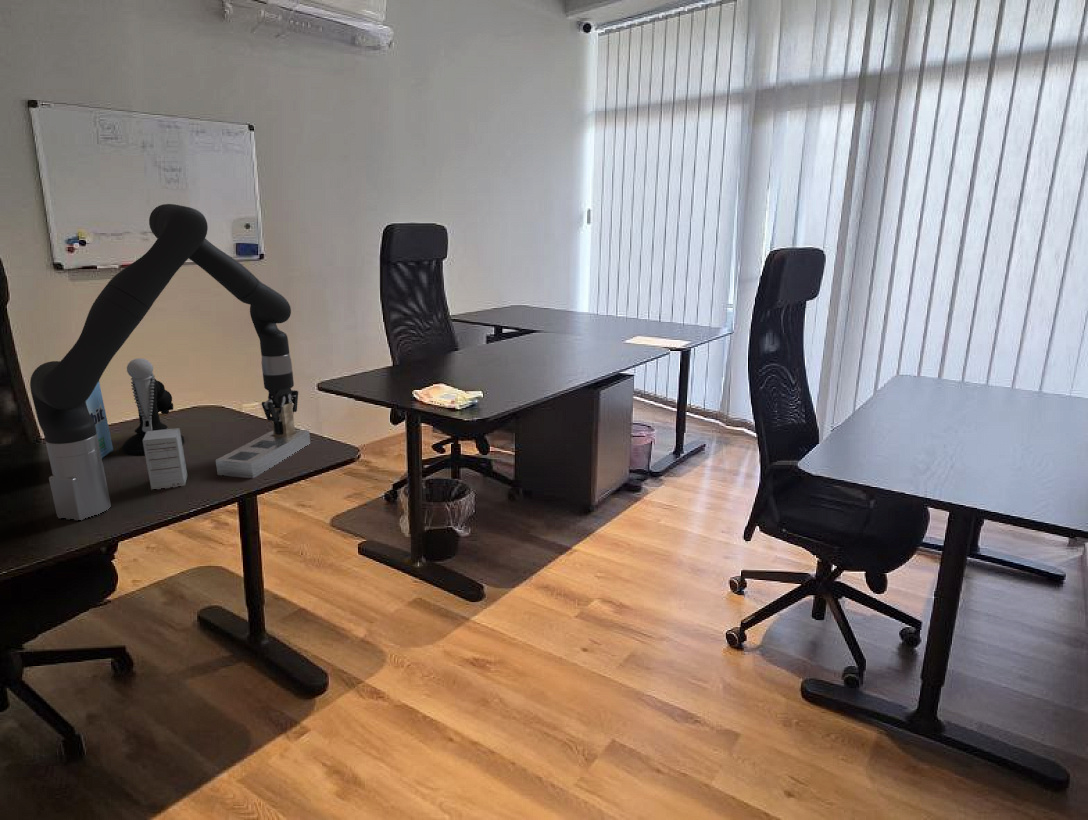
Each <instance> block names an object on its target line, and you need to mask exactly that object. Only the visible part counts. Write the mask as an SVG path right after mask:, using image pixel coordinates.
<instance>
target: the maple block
mask: <svg viewBox="0 0 1088 820" xmlns="http://www.w3.org/2000/svg"><path fill="white" fill-rule="evenodd" d="M292 404H293V403H290V404H289V403H287V404H285V405H284V406H283V413H282V424H283V432H284V433H283V434H282V435H277V434H275V431H274V423H273V421H271V422H272V431H273V433H274V437H286V438H288V437H290V436H292V435H294V434H295V430H296V427H295V419H294V414H293V407H292ZM274 409H275V410H280V408H274ZM276 414H277V417H278V413H276ZM270 415H271V414H270ZM271 417H272V415H271Z"/></svg>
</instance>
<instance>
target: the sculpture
mask: <svg viewBox="0 0 1088 820" xmlns="http://www.w3.org/2000/svg"><path fill="white" fill-rule="evenodd" d="M126 372H127V374H128V375H129V376H130V380H131V382H130V383H131V390H132V395H133V397H134V398H133V400H134V401H135V402H134V403H135V404H136V408H137V413H138V420H139V426H138V427H137V428H136V429H134V432H135V434H134V435H131V437H129V438H128V439H126V441H125V442H124V443H123V444H122V446H121V448H122V449H121V450H122V452H123V453H124V454H126V455H131V456H145V452H144V446H143V441H142V440H143V438H144V436H145V434H146V432H147V431H155V430H164V429H168V425H166V424H164V423H163V422H161V418H160V414H159V413H161V414H162V415H168V414H169V413H170V411H173V410H174V403H173V397H172V394H171V393H170V391H168V390H167V389H165V385H164V383H163V382H162V381H160V380H157V379H156V378H155V377H156V376H155V374H154V373H153V372H154V365H153V364H152V362H150V361H149V360H148V359H145V358H135V359H132V360H130V361H129V362H128V364H127V366H126ZM181 440H182V444H183V445H184V444H185V437H184V436H183V435H181Z"/></svg>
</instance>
